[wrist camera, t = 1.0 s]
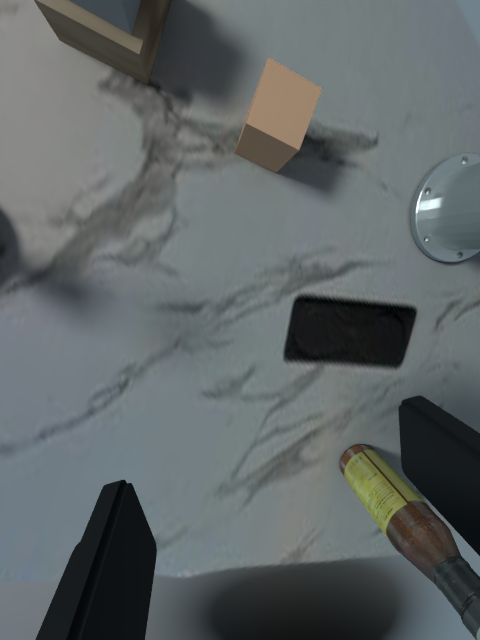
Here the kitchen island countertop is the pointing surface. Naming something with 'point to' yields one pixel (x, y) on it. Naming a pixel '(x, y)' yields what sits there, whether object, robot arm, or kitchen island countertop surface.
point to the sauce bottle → (414, 530)
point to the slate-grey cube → (113, 11)
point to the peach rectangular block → (277, 117)
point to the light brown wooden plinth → (110, 34)
